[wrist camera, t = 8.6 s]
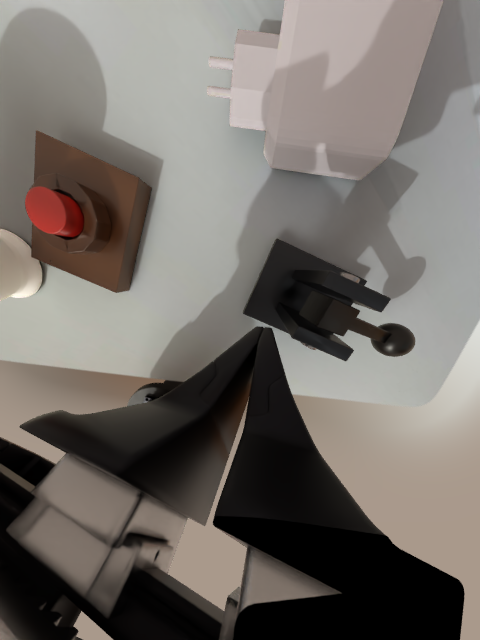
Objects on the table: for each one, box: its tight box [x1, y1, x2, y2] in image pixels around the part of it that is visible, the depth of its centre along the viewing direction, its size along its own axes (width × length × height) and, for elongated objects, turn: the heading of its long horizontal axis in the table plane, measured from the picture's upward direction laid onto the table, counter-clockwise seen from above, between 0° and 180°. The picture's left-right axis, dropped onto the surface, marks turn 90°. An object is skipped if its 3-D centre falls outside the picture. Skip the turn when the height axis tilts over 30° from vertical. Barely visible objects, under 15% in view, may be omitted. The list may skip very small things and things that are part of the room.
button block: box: [29, 130, 151, 293], centre depth 18 cm, size 12×10×4 cm
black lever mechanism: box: [243, 239, 391, 361], centre depth 16 cm, size 11×9×10 cm
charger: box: [207, 0, 444, 180], centre depth 14 cm, size 5×9×15 cm
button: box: [25, 186, 84, 237], centre depth 15 cm, size 4×4×2 cm
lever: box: [299, 290, 415, 357], centre depth 15 cm, size 12×3×3 cm, turn 67°
